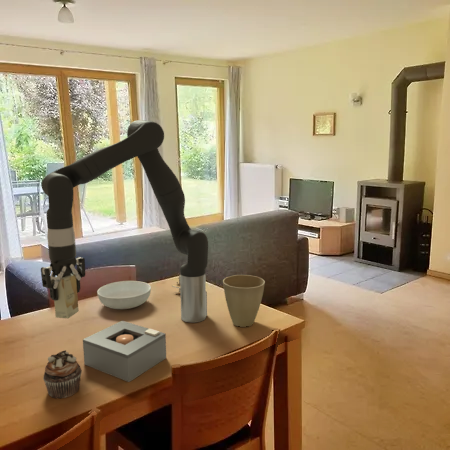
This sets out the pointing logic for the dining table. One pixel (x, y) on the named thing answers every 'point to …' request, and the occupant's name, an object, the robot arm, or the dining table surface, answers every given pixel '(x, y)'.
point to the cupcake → (62, 375)
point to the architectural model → (177, 284)
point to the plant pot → (243, 298)
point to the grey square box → (124, 350)
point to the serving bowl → (124, 294)
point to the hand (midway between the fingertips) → (66, 295)
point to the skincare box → (66, 297)
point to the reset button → (124, 339)
